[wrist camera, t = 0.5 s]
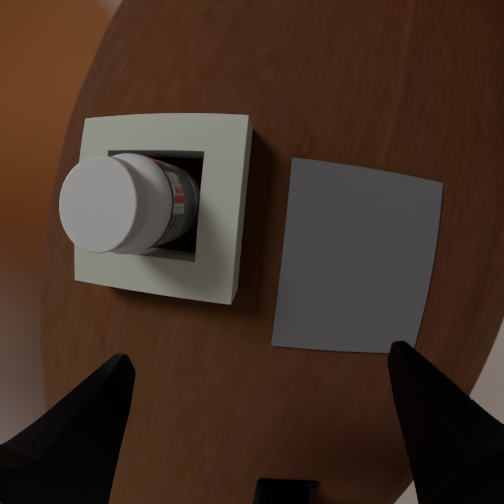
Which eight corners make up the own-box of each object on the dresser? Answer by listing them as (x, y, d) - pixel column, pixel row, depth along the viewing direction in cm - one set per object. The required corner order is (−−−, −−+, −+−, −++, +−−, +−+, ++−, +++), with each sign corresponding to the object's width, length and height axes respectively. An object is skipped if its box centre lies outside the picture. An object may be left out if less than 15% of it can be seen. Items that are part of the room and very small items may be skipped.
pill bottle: (191, 155, 22) (133, 124, 12) (211, 228, 23) (165, 246, 13) (125, 180, 23) (43, 171, 13) (144, 248, 24) (68, 277, 14)
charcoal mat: (410, 350, 23) (412, 353, 23) (271, 342, 24) (271, 345, 23) (439, 183, 21) (442, 183, 20) (291, 158, 22) (292, 157, 21)
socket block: (237, 290, 23) (230, 304, 20) (98, 270, 24) (75, 279, 21) (252, 128, 21) (248, 115, 18) (108, 127, 22) (85, 118, 19)
